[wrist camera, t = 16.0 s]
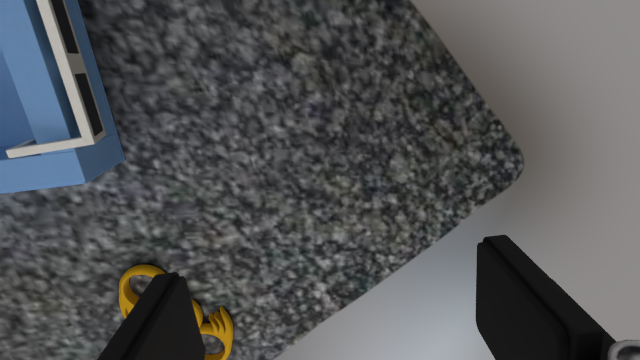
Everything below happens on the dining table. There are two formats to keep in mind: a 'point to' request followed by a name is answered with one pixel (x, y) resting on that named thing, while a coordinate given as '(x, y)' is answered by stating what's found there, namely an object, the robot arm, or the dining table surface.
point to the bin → (46, 104)
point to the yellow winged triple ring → (219, 322)
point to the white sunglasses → (67, 83)
